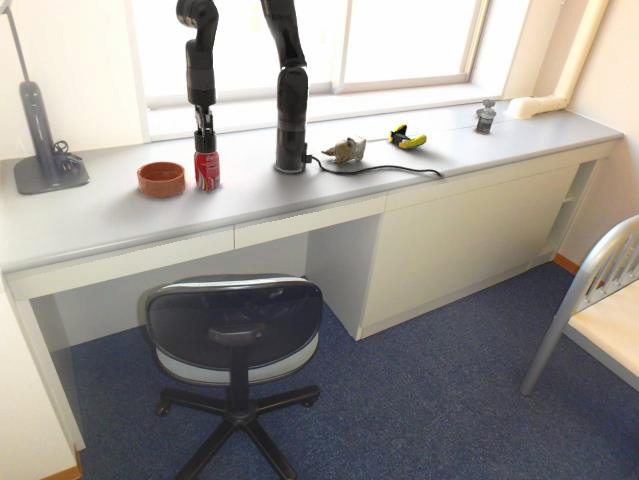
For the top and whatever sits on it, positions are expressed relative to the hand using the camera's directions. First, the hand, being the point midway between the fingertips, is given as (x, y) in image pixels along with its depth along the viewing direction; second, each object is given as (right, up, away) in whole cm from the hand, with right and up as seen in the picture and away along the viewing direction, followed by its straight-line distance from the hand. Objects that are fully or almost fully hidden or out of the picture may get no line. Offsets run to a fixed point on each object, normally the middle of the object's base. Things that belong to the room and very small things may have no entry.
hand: (205, 142), depth 123 cm
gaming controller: (+65, +10, +49) cm, 82 cm away
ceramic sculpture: (+41, +1, +32) cm, 52 cm away
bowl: (-13, -12, +5) cm, 19 cm away
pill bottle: (+103, +20, +68) cm, 125 cm away
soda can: (-1, -12, +8) cm, 14 cm away
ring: (0, -2, +1) cm, 2 cm away
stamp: (+109, +29, +83) cm, 140 cm away
